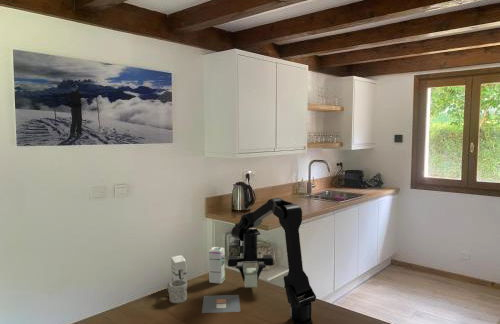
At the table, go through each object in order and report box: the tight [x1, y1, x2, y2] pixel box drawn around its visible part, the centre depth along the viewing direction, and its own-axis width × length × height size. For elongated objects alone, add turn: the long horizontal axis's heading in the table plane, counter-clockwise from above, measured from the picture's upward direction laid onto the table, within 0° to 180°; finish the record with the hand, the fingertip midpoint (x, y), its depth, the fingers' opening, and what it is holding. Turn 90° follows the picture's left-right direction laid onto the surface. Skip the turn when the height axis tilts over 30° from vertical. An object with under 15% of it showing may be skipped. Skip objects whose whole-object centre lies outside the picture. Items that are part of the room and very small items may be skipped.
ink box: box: [170, 255, 188, 283], centre depth 155 cm, size 9×5×12 cm, turn 25°
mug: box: [167, 280, 188, 304], centre depth 143 cm, size 10×7×7 cm
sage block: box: [243, 267, 258, 288], centre depth 151 cm, size 5×8×5 cm, turn 4°
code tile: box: [201, 294, 241, 314], centre depth 139 cm, size 14×14×1 cm
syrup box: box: [208, 246, 226, 284], centre depth 160 cm, size 6×6×14 cm
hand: (250, 280), depth 151 cm, fingers closed on sage block, 5 cm apart
